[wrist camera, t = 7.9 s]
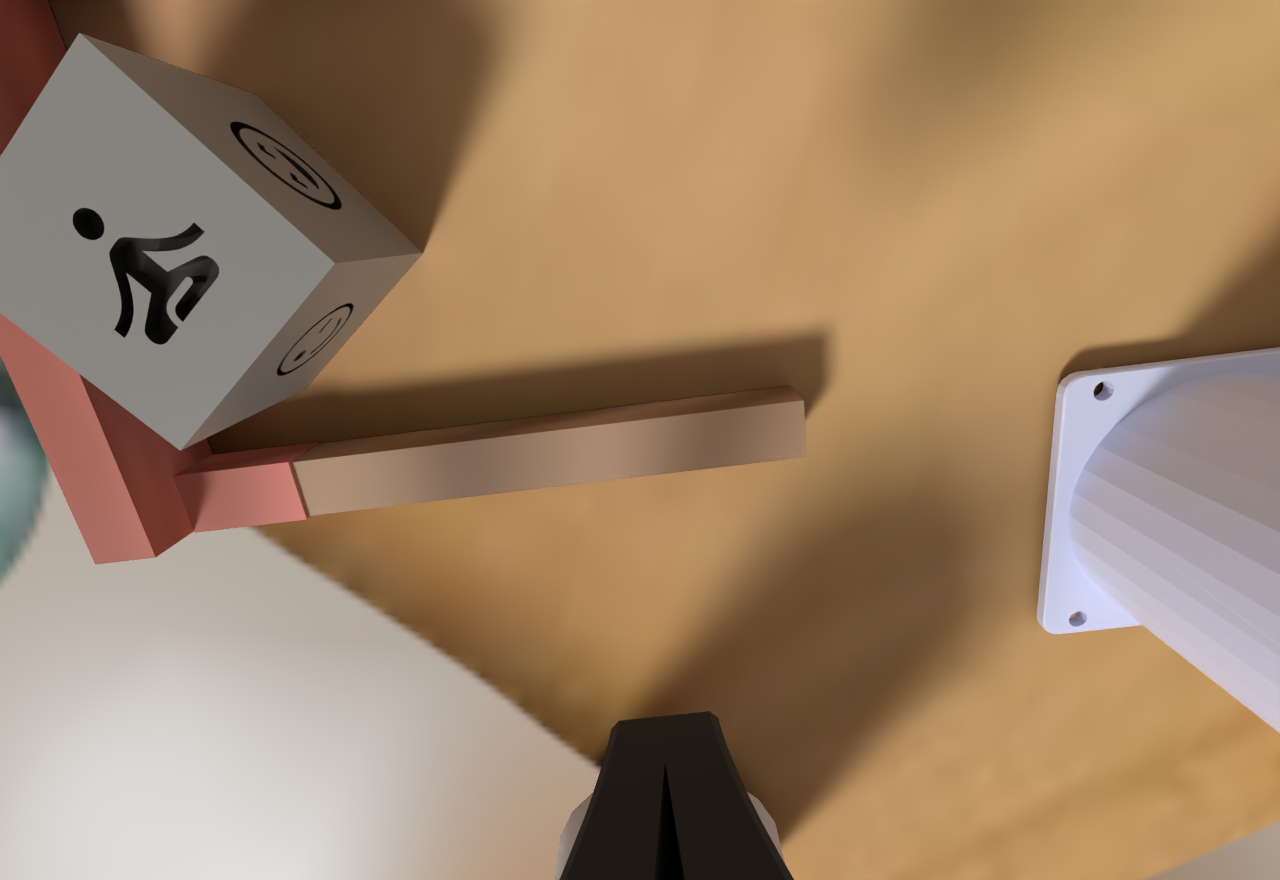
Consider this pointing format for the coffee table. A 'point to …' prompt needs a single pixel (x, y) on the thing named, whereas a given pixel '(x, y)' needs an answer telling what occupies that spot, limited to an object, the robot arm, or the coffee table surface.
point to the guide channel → (341, 470)
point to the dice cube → (182, 242)
